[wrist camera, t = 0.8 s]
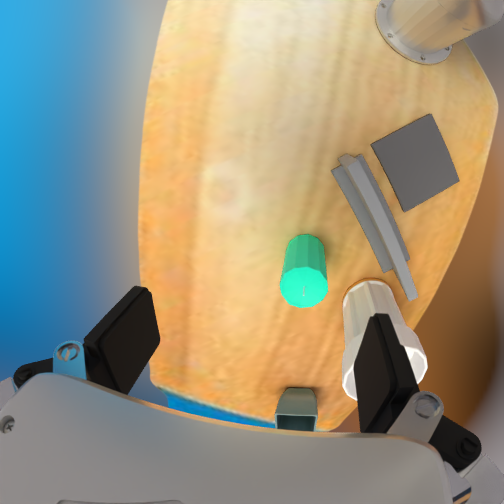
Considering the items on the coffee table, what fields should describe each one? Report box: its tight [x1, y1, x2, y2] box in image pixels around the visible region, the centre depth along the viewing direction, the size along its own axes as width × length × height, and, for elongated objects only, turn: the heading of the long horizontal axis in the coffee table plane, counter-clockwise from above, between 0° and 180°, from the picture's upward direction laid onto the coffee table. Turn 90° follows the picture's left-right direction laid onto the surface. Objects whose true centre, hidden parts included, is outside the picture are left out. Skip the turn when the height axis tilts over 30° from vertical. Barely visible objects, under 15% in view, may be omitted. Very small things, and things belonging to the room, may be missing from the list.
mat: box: [371, 114, 459, 212], centre depth 33 cm, size 11×11×1 cm
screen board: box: [331, 154, 418, 301], centre depth 34 cm, size 5×20×9 cm, turn 35°
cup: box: [342, 278, 427, 401], centre depth 36 cm, size 11×11×17 cm
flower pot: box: [275, 388, 318, 432], centre depth 53 cm, size 9×9×9 cm
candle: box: [280, 234, 328, 308], centre depth 37 cm, size 6×6×12 cm
